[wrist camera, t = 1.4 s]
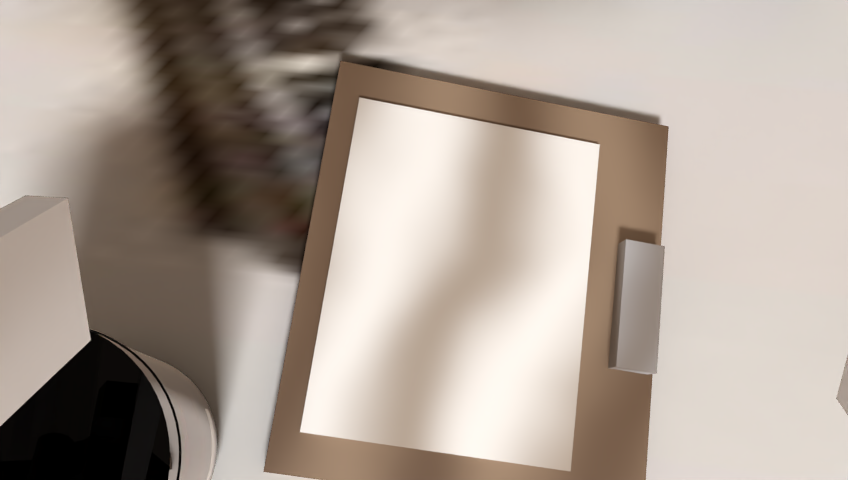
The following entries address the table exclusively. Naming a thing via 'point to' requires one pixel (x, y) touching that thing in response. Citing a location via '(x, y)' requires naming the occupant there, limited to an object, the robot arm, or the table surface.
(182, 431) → the supplement container
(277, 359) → the table surface
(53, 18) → the table surface
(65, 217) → the robot arm
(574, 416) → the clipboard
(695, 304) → the table surface
